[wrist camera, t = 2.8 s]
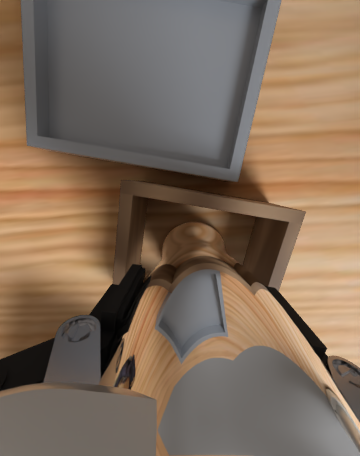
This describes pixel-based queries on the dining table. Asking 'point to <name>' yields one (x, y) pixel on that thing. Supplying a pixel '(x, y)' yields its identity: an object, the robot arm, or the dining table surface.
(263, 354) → the beer glass
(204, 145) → the tray
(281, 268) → the frame
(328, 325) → the dining table surface
